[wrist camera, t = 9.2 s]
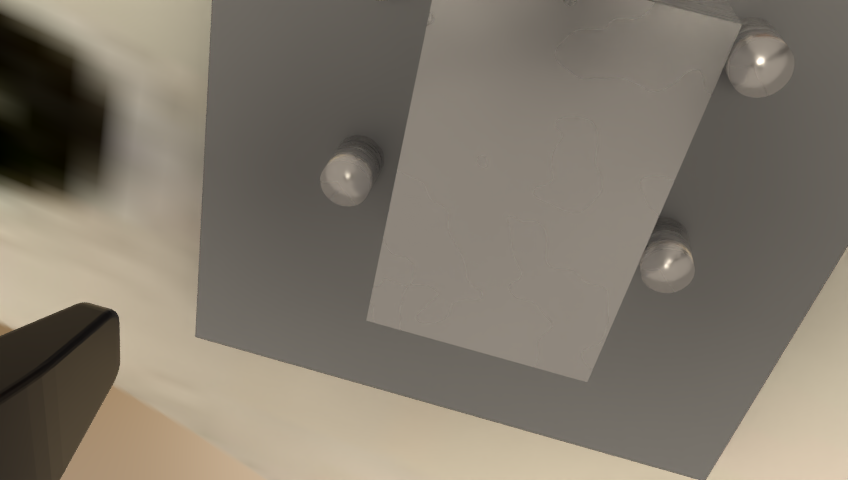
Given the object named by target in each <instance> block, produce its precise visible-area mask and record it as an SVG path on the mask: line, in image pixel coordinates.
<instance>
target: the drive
mask: <svg viewBox="0 0 848 480" xmlns="http://www.w3.org/2000/svg"><path fill="white" fill-rule="evenodd" d="M741 26H742V24H741V22H740V20H739V19H738V17H737V16H736V14H735V12H734V11H733V9H732V8H731V6H730V4H729V3H728V1H727V0H432V3H431V7H430V12H429V17H428V22H427V27H426V32H425V37H424V41H423V46H422V51H421V56H420V61H419V66H418V71H417V76H416V80H415V85H414V90H413V95H412V100H411V105H410V110H409V115H408V119H407V124H406V129H405V134H404V139H403V144H402V149H401V154H400V158H399V163H398V168H397V173H396V178H395V183H394V188H393V193H392V197H391V202H390V207H389V212H388V217H387V222H386V227H385V231H384V236H383V241H382V246H381V251H380V256H379V261H378V266H377V270H376V275H375V280H374V285H373V290H372V295H371V300H370V305H369V309H368V314H367V319H366V321H370V322H373V323H377V324H380V325H384V326H387V327H391V328H395V329H398V330H402V331H405V332H409V333H413V334H416V335H420V336H423V337H427V338H431V339H434V340H438V341H441V342H445V343H448V344H452V345H456V346H459V347H463V348H466V349H470V350H474V351H477V352H481V353H484V354H488V355H491V356H495V357H499V358H502V359H506V360H509V361H513V362H517V363H520V364H524V365H527V366H531V367H534V368H538V369H542V370H545V371H549V372H552V373H556V374H560V375H563V376H567V377H570V378H574V379H577V380H581V381H585V382H588V379H589V377H590V375H591V372H592V370H593V368H594V365H595V363H596V361H597V358H598V356H599V354H600V351H601V349H602V347H603V345H604V342H605V340H606V338H607V335H608V333H609V331H610V328H611V326H612V324H613V321H614V319H615V317H616V315H617V312H618V310H619V308H620V305H621V303H622V301H623V298H624V296H625V294H626V291H627V289H628V287H629V284H630V282H631V280H632V278H633V275H634V273H635V271H636V268H637V266H638V264H639V261H640V259H641V257H642V254H643V252H644V250H645V248H646V245H647V243H648V241H649V238H650V236H651V234H652V231H653V229H654V227H655V224H656V222H657V220H658V217H659V215H660V213H661V211H662V208H663V206H664V204H665V201H666V199H667V197H668V194H669V192H670V190H671V187H672V185H673V183H674V181H675V178H676V176H677V174H678V171H679V169H680V167H681V164H682V162H683V160H684V157H685V155H686V153H687V150H688V148H689V146H690V144H691V141H692V139H693V137H694V134H695V132H696V130H697V127H698V125H699V123H700V120H701V118H702V116H703V114H704V111H705V109H706V107H707V104H708V102H709V100H710V97H711V95H712V93H713V90H714V88H715V86H716V83H717V81H718V79H719V77H720V74H721V72H722V70H723V67H724V65H725V63H726V60H727V58H728V56H729V53H730V51H731V49H732V47H733V44H734V42H735V40H736V37H737V35H738V33H739V30H740V28H741Z"/></svg>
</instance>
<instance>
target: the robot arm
mask: <svg viewBox="0 0 848 480" xmlns="http://www.w3.org/2000/svg"><path fill="white" fill-rule="evenodd" d="M119 366H120V329H119V317H118V315H117V313H116V312H115V311H113V310H112V309H109V308H105V307H101V306H98V305H94V304H91V303H79V304H76V305H73V306H71V307H68V308H66V309H64V310H61V311H59V312H56V313H54V314H52V315H49V316H47V317H44V318H42V319H40V320H37V321H35V322H33V323H30V324H28V325H25V326H23V327H21V328H18V329H16V330H13V331H11V332H9V333H6V334H4V335H1V336H0V480H60V478H61V477H62V475H63V473H64V472H65V470H66V468H67V466H68V464H69V462H70V461H71V459H72V457H73V455H74V453H75V452H76V450H77V448H78V446H79V444H80V443H81V441H82V439H83V437H84V435H85V434H86V432H87V430H88V428H89V426H90V425H91V423H92V421H93V419H94V417H95V416H96V414H97V412H98V410H99V408H100V406H101V405H102V403H103V401H104V399H105V398H106V396H107V394H108V392H109V390H110V389H111V387H112V385H113V383H114V381H115V379H116V376H117V374H118V370H119Z"/></svg>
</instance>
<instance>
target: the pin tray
mask: <svg viewBox="0 0 848 480" xmlns="http://www.w3.org/2000/svg"><path fill="white" fill-rule="evenodd" d="M727 1H728V3H729V4H730V6H731V8H732V9H733V11H734V12H735V14H736V16H737V17H738V19H739V20H740V22H741V24H742V26H741V28H740V30H739V33H738V35H737V37H736V40H735V42H734V44H733V47H732V49H731V51H730V53H729V56H728V58H727V60H726V63H725V65H724V67H723V70H722V72H721V74H720V77H719V79H718V81H717V83H716V86H715V88H714V90H713V93H712V95H711V97H710V100H709V102H708V104H707V107H706V109H705V111H704V114H703V116H702V118H701V120H700V123H699V125H698V127H697V130H696V132H695V134H694V137H693V139H692V141H691V144H690V146H689V148H688V150H687V153H686V155H685V157H684V160H683V162H682V164H681V167H680V169H679V171H678V174H677V176H676V178H675V181H674V183H673V185H672V187H671V190H670V192H669V194H668V197H667V199H666V201H665V204H664V206H663V208H662V211H661V213H660V215H659V217H658V220H657V222H656V224H655V227H654V229H653V231H652V234H651V236H650V238H649V241H648V243H647V245H646V248H645V250H644V252H643V254H642V257H641V259H640V261H639V264H638V266H637V268H636V271H635V273H634V275H633V278H632V280H631V282H630V284H629V287H628V289H627V291H626V294H625V296H624V298H623V301H622V303H621V305H620V308H619V310H618V312H617V315H616V317H615V319H614V321H613V324H612V326H611V328H610V331H609V333H608V335H607V338H606V340H605V342H604V345H603V347H602V349H601V351H600V354H599V356H598V358H597V361H596V363H595V365H594V368H593V370H592V372H591V375H590V377H589V379H588V382H585V381H581V380H577V379H574V378H570V377H567V376H563V375H560V374H556V373H552V372H549V371H545V370H542V369H538V368H534V367H531V366H527V365H524V364H520V363H517V362H513V361H509V360H506V359H502V358H499V357H495V356H491V355H488V354H484V353H481V352H477V351H474V350H470V349H466V348H463V347H459V346H456V345H452V344H448V343H445V342H441V341H438V340H434V339H431V338H427V337H423V336H420V335H416V334H413V333H409V332H405V331H402V330H398V329H395V328H391V327H387V326H384V325H380V324H377V323H373V322H370V321H366V319H367V314H368V309H369V305H370V300H371V295H372V290H373V285H374V280H375V275H376V270H377V266H378V261H379V256H380V251H381V246H382V241H383V236H384V231H385V227H386V222H387V217H388V212H389V207H390V202H391V197H392V193H393V188H394V183H395V178H396V173H397V168H398V163H399V158H400V154H401V149H402V144H403V139H404V134H405V129H406V124H407V119H408V115H409V110H410V105H411V100H412V95H413V90H414V85H415V80H416V76H417V71H418V66H419V61H420V56H421V51H422V46H423V41H424V37H425V32H426V27H427V22H428V17H429V12H430V7H431V3H432V0H212V14H211V34H210V54H209V74H208V94H207V114H206V134H205V154H204V174H203V194H202V214H201V234H200V254H199V274H198V294H197V314H196V334H195V337H197V338H201V339H204V340H208V341H211V342H215V343H219V344H222V345H226V346H229V347H233V348H236V349H240V350H243V351H247V352H250V353H254V354H257V355H261V356H264V357H268V358H271V359H275V360H278V361H282V362H286V363H289V364H293V365H296V366H300V367H303V368H307V369H310V370H314V371H317V372H321V373H324V374H328V375H331V376H335V377H338V378H342V379H345V380H349V381H352V382H356V383H360V384H363V385H367V386H370V387H374V388H377V389H381V390H384V391H388V392H391V393H395V394H398V395H402V396H405V397H409V398H412V399H416V400H419V401H423V402H427V403H430V404H434V405H437V406H441V407H444V408H448V409H451V410H455V411H458V412H462V413H465V414H469V415H472V416H476V417H479V418H483V419H486V420H490V421H493V422H497V423H501V424H504V425H508V426H511V427H515V428H518V429H522V430H525V431H529V432H532V433H536V434H539V435H543V436H546V437H550V438H553V439H557V440H560V441H564V442H567V443H571V444H575V445H578V446H582V447H585V448H589V449H592V450H596V451H599V452H603V453H606V454H610V455H613V456H617V457H620V458H624V459H627V460H631V461H634V462H638V463H642V464H645V465H649V466H652V467H656V468H659V469H663V470H666V471H670V472H673V473H677V474H680V475H684V476H687V477H691V478H694V479H698V480H706V479H707V477H708V475H709V474H710V472H711V470H712V469H713V467H714V465H715V464H716V462H717V461H718V459H719V457H720V456H721V454H722V452H723V451H724V449H725V447H726V446H727V444H728V442H729V441H730V439H731V437H732V436H733V434H734V433H735V431H736V429H737V428H738V426H739V424H740V423H741V421H742V419H743V418H744V416H745V414H746V413H747V411H748V409H749V408H750V406H751V405H752V403H753V401H754V400H755V398H756V396H757V395H758V393H759V391H760V390H761V388H762V386H763V385H764V383H765V381H766V380H767V378H768V377H769V375H770V373H771V372H772V370H773V368H774V367H775V365H776V363H777V362H778V360H779V358H780V357H781V355H782V353H783V352H784V350H785V349H786V347H787V345H788V344H789V342H790V340H791V339H792V337H793V335H794V334H795V332H796V330H797V329H798V327H799V325H800V324H801V322H802V321H803V319H804V317H805V316H806V314H807V312H808V311H809V309H810V307H811V306H812V304H813V302H814V301H815V299H816V297H817V296H818V294H819V293H820V291H821V289H822V288H823V286H824V284H825V283H826V281H827V279H828V278H829V276H830V274H831V273H832V271H833V269H834V268H835V266H836V265H837V263H838V261H839V260H840V258H841V256H842V255H843V253H844V251H845V250H846V248H847V246H848V0H727Z"/></svg>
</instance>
